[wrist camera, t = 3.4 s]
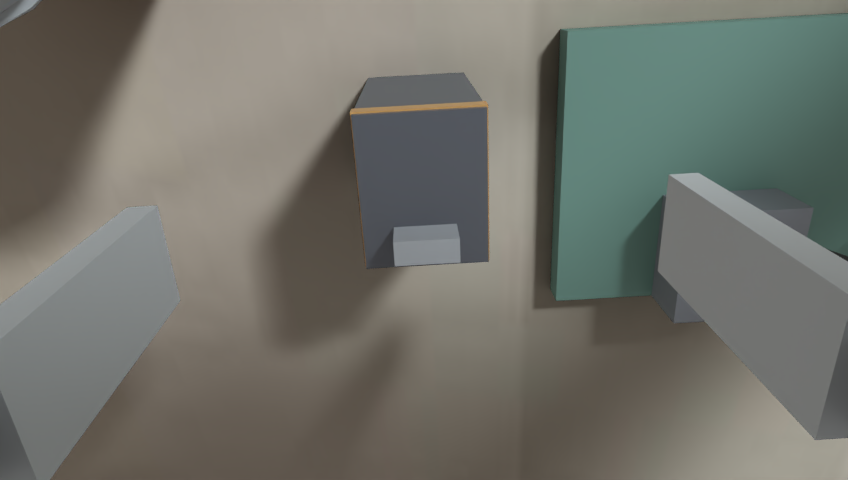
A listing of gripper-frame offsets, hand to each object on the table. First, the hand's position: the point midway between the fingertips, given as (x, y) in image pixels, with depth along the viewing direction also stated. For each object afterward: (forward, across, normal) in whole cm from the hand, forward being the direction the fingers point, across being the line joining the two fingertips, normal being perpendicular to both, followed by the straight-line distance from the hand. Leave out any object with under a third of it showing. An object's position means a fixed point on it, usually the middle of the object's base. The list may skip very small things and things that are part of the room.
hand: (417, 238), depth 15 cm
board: (+11, +17, -2) cm, 21 cm away
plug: (+11, 0, 0) cm, 11 cm away
